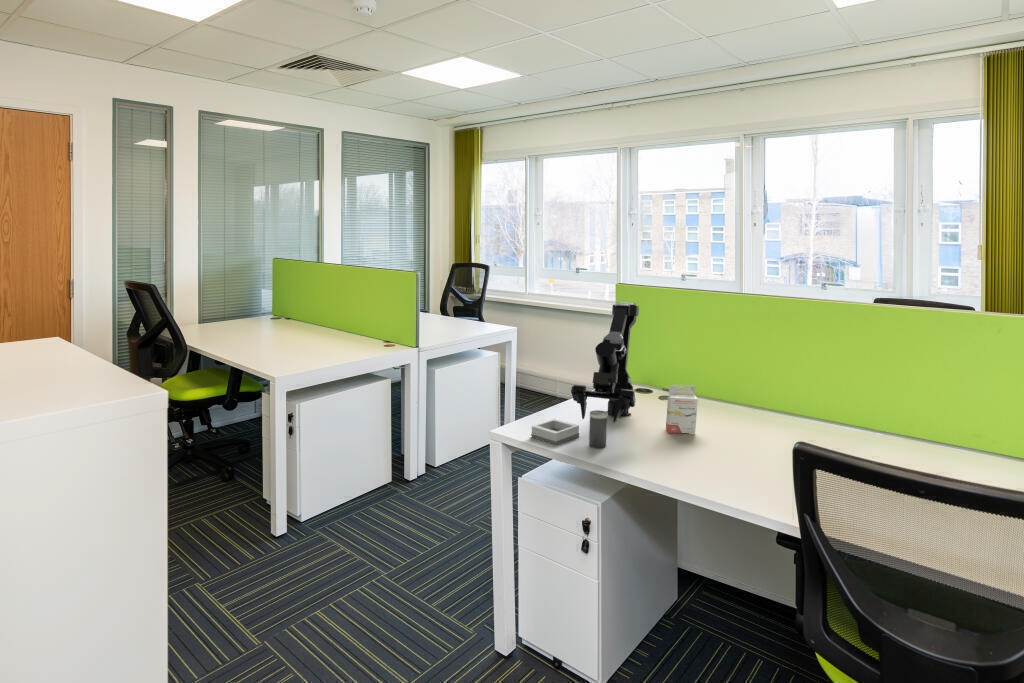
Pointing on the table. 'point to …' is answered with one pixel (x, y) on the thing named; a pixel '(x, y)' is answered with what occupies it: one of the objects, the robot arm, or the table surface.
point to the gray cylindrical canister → (598, 429)
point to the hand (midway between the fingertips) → (598, 420)
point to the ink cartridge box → (681, 409)
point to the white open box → (555, 431)
